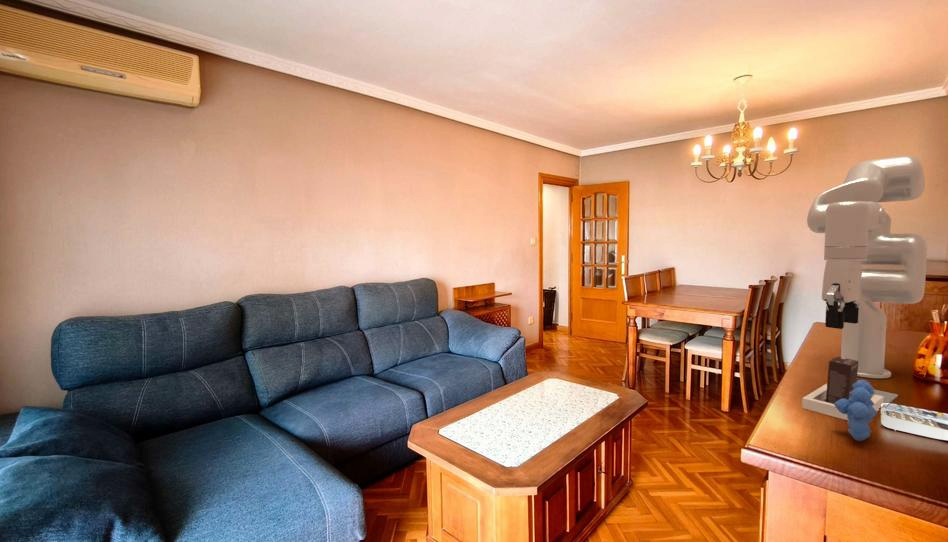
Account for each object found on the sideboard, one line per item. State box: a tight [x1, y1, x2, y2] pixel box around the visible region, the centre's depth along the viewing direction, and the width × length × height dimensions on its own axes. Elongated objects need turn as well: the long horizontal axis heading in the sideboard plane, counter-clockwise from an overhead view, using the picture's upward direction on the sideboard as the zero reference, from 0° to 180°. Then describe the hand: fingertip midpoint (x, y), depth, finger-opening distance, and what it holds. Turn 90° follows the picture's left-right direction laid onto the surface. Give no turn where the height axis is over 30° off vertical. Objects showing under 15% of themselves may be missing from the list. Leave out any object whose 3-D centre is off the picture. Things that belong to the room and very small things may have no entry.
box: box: [825, 356, 859, 404], centre depth 98 cm, size 6×4×12 cm
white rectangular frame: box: [801, 383, 884, 422], centre depth 99 cm, size 16×11×2 cm, turn 123°
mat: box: [871, 389, 899, 404], centre depth 107 cm, size 11×12×1 cm
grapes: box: [834, 379, 878, 442], centre depth 85 cm, size 12×7×12 cm, turn 132°
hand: (841, 325), depth 97 cm, fingers open, 9 cm apart
